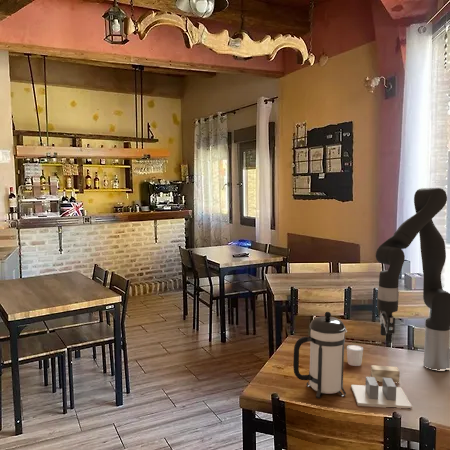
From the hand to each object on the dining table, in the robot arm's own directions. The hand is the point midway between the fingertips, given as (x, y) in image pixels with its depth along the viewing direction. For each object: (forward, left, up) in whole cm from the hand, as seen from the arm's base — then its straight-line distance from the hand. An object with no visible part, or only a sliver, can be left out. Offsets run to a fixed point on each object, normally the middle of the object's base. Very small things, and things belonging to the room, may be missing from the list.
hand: (385, 338), depth 171 cm
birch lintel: (0, 0, -17) cm, 17 cm away
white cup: (+9, -15, -17) cm, 24 cm away
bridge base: (+5, +15, -17) cm, 23 cm away
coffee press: (+25, +13, -17) cm, 33 cm away
